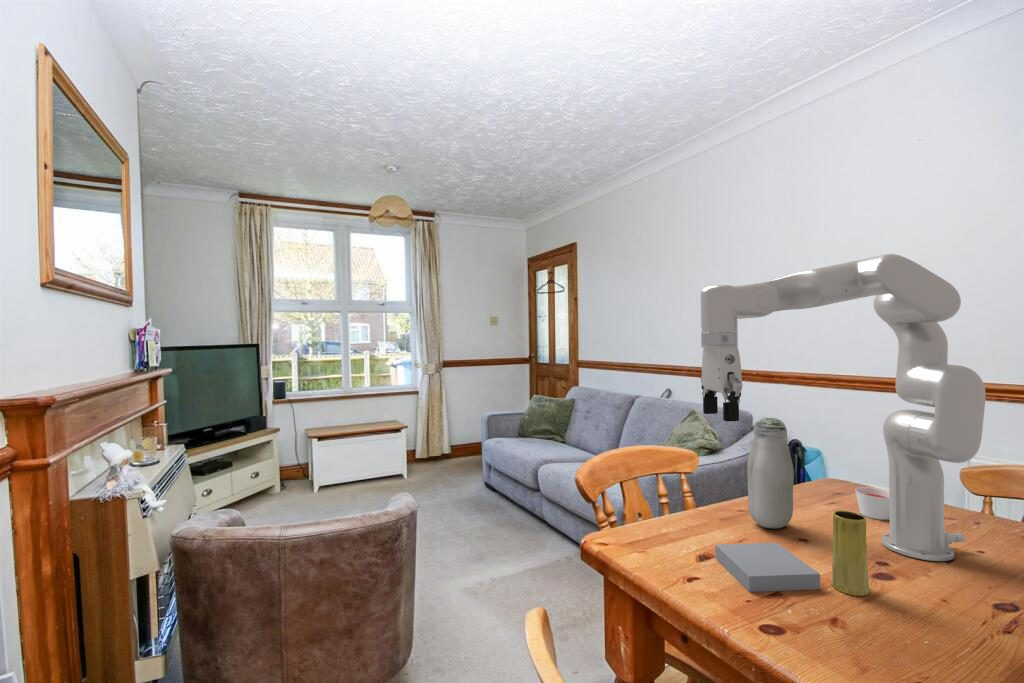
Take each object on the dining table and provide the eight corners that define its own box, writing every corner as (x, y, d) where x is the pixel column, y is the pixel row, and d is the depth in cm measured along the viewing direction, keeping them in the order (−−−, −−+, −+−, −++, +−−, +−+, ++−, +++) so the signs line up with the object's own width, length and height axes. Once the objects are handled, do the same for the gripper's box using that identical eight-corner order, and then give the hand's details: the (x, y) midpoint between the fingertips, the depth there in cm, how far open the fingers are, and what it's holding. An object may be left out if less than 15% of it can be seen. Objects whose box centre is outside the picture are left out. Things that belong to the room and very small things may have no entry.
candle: (906, 521, 123) (906, 497, 123) (871, 522, 124) (871, 498, 124) (880, 509, 132) (879, 486, 132) (847, 509, 133) (847, 487, 132)
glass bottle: (768, 536, 116) (767, 422, 116) (740, 520, 126) (739, 415, 126) (803, 532, 118) (801, 420, 118) (772, 517, 128) (771, 414, 128)
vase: (876, 598, 88) (875, 522, 88) (840, 595, 90) (839, 520, 89) (859, 581, 94) (858, 510, 94) (825, 579, 96) (824, 508, 95)
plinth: (777, 556, 106) (776, 542, 106) (820, 589, 92) (819, 573, 92) (715, 558, 105) (715, 544, 105) (749, 591, 91) (748, 576, 91)
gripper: (756, 340, 97) (758, 423, 98) (717, 340, 115) (718, 410, 115) (721, 341, 97) (722, 424, 97) (687, 341, 114) (688, 411, 115)
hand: (720, 417), depth 106 cm, fingers open, 9 cm apart
